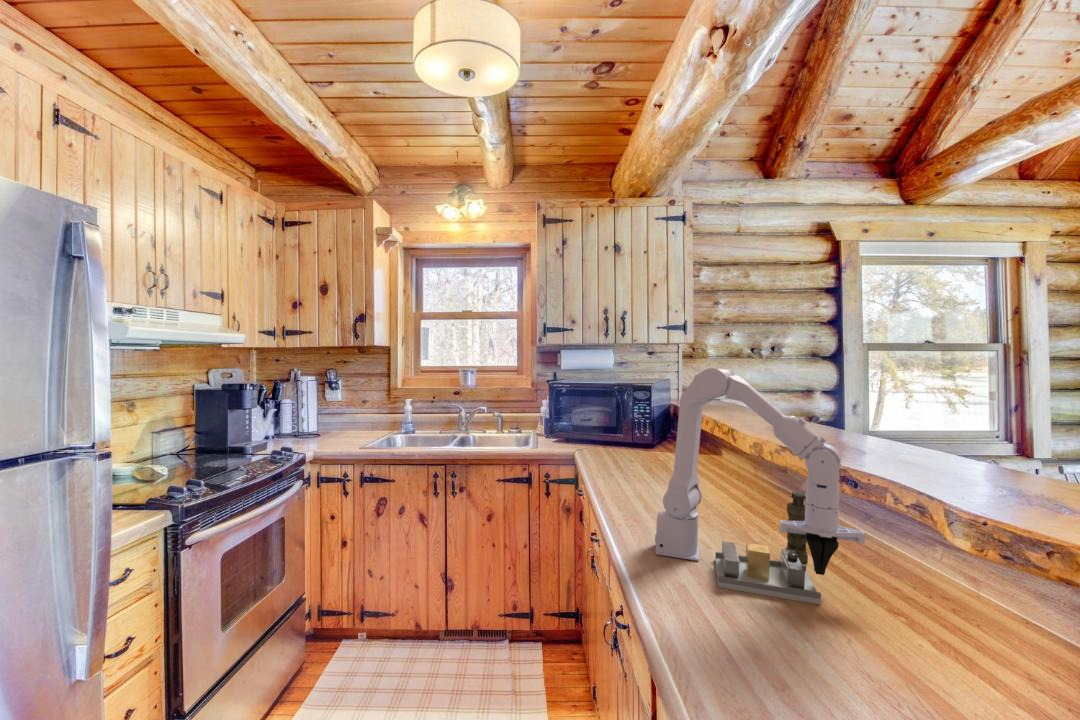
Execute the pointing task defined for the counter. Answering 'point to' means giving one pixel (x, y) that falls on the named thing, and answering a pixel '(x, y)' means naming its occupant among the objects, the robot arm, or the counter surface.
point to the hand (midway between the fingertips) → (819, 572)
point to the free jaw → (792, 569)
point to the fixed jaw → (730, 560)
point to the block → (757, 561)
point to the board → (767, 582)
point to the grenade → (797, 514)
